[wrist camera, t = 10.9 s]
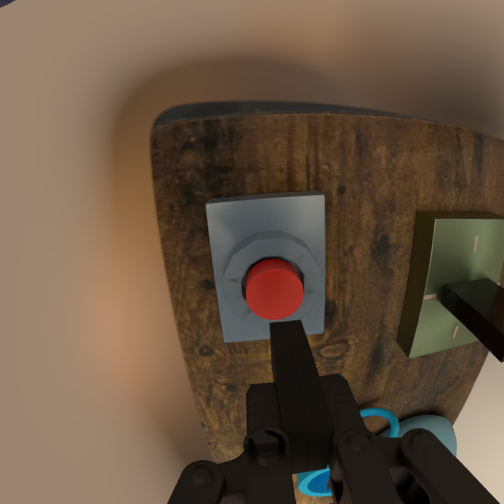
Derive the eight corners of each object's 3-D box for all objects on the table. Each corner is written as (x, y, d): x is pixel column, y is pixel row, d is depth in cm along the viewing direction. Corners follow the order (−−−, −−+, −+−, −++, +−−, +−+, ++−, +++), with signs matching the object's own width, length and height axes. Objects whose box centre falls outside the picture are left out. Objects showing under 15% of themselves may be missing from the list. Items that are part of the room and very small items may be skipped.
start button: (243, 261, 20) (243, 271, 18) (298, 256, 20) (303, 266, 18) (248, 309, 21) (248, 322, 19) (299, 304, 21) (304, 317, 19)
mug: (307, 450, 32) (316, 501, 24) (277, 422, 30) (284, 481, 22) (392, 410, 30) (416, 459, 23) (376, 374, 28) (404, 430, 20)
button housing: (208, 198, 22) (201, 209, 18) (317, 190, 22) (332, 198, 18) (225, 328, 25) (223, 356, 22) (318, 319, 25) (329, 346, 22)
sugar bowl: (376, 476, 37) (393, 528, 26) (335, 452, 33) (353, 522, 22) (452, 428, 34) (481, 477, 23) (432, 392, 30) (472, 456, 19)
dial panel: (415, 210, 23) (435, 219, 20) (491, 211, 23) (512, 219, 20) (395, 341, 27) (408, 359, 24) (468, 325, 27) (483, 340, 24)
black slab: (439, 303, 22) (502, 365, 13) (444, 284, 22) (512, 342, 13) (484, 295, 22) (545, 344, 13) (488, 277, 22) (553, 324, 13)
